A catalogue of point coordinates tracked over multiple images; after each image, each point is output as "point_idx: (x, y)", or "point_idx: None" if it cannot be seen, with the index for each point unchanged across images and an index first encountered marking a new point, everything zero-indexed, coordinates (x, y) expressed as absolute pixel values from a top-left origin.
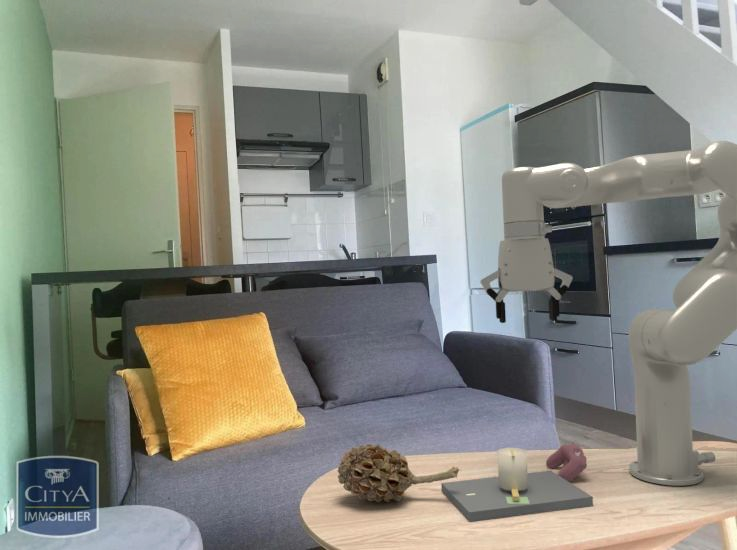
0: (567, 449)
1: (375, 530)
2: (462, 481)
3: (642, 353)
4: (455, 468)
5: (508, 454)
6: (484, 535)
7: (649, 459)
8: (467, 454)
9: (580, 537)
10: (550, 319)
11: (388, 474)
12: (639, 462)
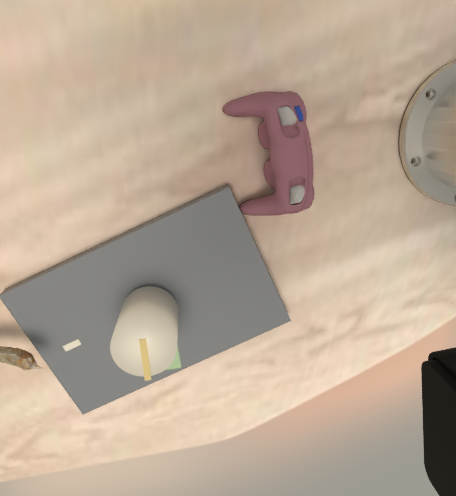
0: (278, 169)
1: None
2: (41, 280)
3: None
4: (25, 364)
5: (137, 367)
6: (115, 439)
7: (449, 177)
8: (2, 3)
9: (249, 421)
10: (423, 392)
11: None
12: (430, 145)
